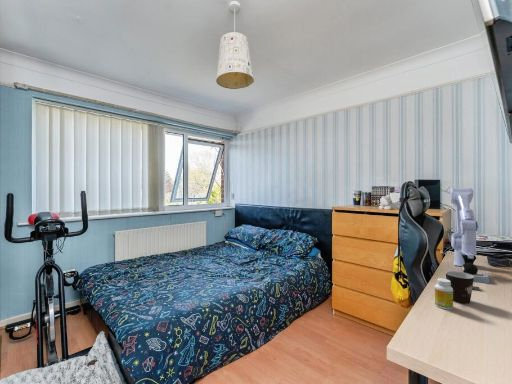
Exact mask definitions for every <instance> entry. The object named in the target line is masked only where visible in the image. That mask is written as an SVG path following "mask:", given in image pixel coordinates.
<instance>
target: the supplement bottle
mask: <svg viewBox="0 0 512 384" xmlns="http://www.w3.org/2000/svg"><path fill="white" fill-rule="evenodd" d="M450 285H451V281H450V280H447V279H446V278H443V277H442V278H441V277H440V278H439V277H438V278H436V284H435V285H434V305H435V306H436V307H437V308H440V309H442V310H453V309H454V301H453V288H452V287H451V286H450Z"/></svg>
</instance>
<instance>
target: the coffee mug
mask: <svg viewBox="0 0 512 384" xmlns="http://www.w3.org/2000/svg"><path fill="white" fill-rule="evenodd" d="M445 279H447V280H450V281H451V285H450V286H451V287H452V288H453V303H457V304H460V305H461V304H462V305H469V304H470V303H471V298H472V292H473V290H472V287H473V286H474V282H475V281H474V276H473V275H470V274H467V273H464V272H463V271H460V272H457V271H456V270H455V271H454V270H447V271H445Z"/></svg>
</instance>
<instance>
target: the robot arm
mask: <svg viewBox="0 0 512 384" xmlns="http://www.w3.org/2000/svg"><path fill="white" fill-rule="evenodd" d="M449 192H450V193H449V195H450V196H449V197H450V203H452V204H454V206H455V216H456V217H455V220H456V232H454V233H452V234H451V237H450V238H451V239H450V244H451V247H452V249H454V256H453V257H454V259H453V260H452V263H453V266H456V267H462V266H463V264H465V263H472V264H474V263H475V261H476V259H477V256H476V255H477V232H478V229H479V223H478V220H477V219H476V218H475V214H474V211H473V209H471V206H470V204H471V202H472V200H473V198H474V190H473V188H472V187H467V188H466V187H461V188H460V187H459V188H458V187H457V188H456V187H455V188H453V187H452V188H450V191H449Z"/></svg>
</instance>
